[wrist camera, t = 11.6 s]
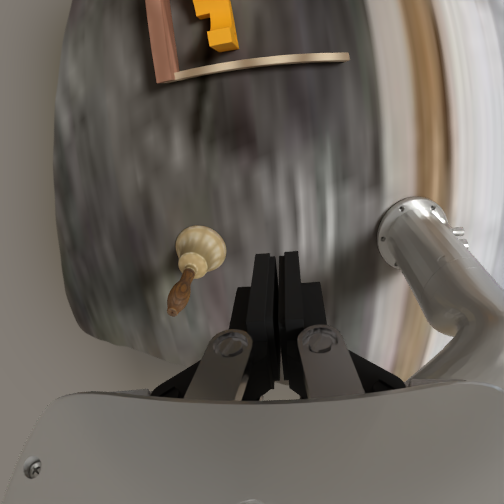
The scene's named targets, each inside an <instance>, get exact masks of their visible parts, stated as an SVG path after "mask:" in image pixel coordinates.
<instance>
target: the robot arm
mask: <svg viewBox="0 0 504 504" xmlns="http://www.w3.org/2000/svg"><path fill="white" fill-rule="evenodd" d="M400 207H401V208H400ZM463 235H464V229H463V227H456V228H452V227H451V226H450V225H449V224H448V222H447V218H446V215H445V213H444V212H443V210H442V208H441V207H440V206H439V205H438V204H436V203H435V202H434V201H432V200H430V199H428V198H424V197H410V198H406V199H404V200H402V201H400V202H398V203H397V204H395V205H394V206H393V207H391V208H390V209H389V210H388V211H387V213H386V214H385V216H384V217H383V219H382V221H381V223H380V225H379V228H378V233H377V245H378V248H379V252H380V253H381V255H382V257H383V259H384V260H385V261H386V262H387V263H388V264H389V265H390V266H392V267H394V268H396V269H399V270H401V271H402V273H403V275H404V277H405V279H406V280H407V282H408V284H409V286H410V288H411V290H412V292H413V294H414V295H415V297H416V299H417V301H418V303H419V305H420V307H421V309H422V311H423V313H424V315H425V317H426V319H427V321H428V322H429V324H430V325H431V326H432V327H433V328H434V329H436V330H437V331H438V332H440V333H443V334H445V335H448V336H452V337H454V338H453V339H452V340H451V341H450V342H449V343H448V344H447V345H446V346H445V347H444V349H443V350H442V351H440V352H439V353H438V354H437V355H436V356H435V357H434V358H433V359H431V360H430V361H429V362H428V363H427V364H426V365H424V366H423V367H422V368H421V369H420V370H418V371H417V372H416V373H415V374H414V375H413V376H411V377H410V378H409V379H408V380H407V381H406V382H403V381H402V380H401V379H400V378H398V377H397V376H395V375H393V374H392V373H390V372H388V371H386V370H384V369H382V368H380V367H379V366H377V365H375V364H373V363H371V362H369V361H368V360H366V359H364V358H362V357H360V356H359V355H357V354H355V353H353V352H351V351H350V350H348V349H347V346H346V344H345V341H344V339H343V336H342V335H341V333H340V332H339V331H338V330H337V329H336V328H334V327H332V326H329V325H327V323H326V316H325V310H324V303H323V297H322V291H321V285H320V282H312V283H301V279H300V267H299V256H298V251H293V252H284V256H279V287H278V277H277V268H276V259H275V256H274V257H270V253H266V254H256V255H255V262H254V269H253V276H252V283H251V287H238V288H237V292H236V297H235V302H234V306H233V311H232V316H231V321H230V326H229V330H225V331H222V332H220V333H218V334H216V335H215V336H214V337H213V338H212V339H211V341H210V342H209V344H208V346H207V348H206V351H205V353H204V355H203V357H202V359H201V360H200V361H198V362H197V363H195V364H194V365H192V366H190V367H189V368H187V369H186V370H184V371H182V372H181V373H179V374H177V375H176V376H174V377H172V378H171V379H169V380H167V381H166V382H164V383H162V384H161V385H159V386H158V387H156V388H155V389H154V390H153V391H151V392H150V391H149V390H148V389H141V390H129V391H117V392H96V391H91V392H78V393H73V394H69V395H65V396H62V397H59V398H57V399H55V400H54V401H52V402H51V403H50V404H49V405H48V406H47V407H46V408H45V410H44V411H43V412H42V414H41V415H40V417H39V419H38V420H37V422H36V424H35V425H34V427H33V429H32V431H31V433H30V435H29V436H28V438H27V441H26V443H25V445H24V447H23V449H22V451H21V453H20V456H19V458H18V461H17V463H16V465H15V468H14V470H13V473H12V475H11V478H10V481H9V483H8V486H7V489H6V491H5V494H4V497H3V501H2V504H504V289H503V288H502V287H501V286H500V285H499V284H498V283H497V282H496V281H495V280H494V278H493V277H492V276H491V275H490V274H489V273H488V272H487V271H486V269H485V268H484V267H483V266H482V265H481V264H480V262H479V261H478V260H477V259H476V258H475V257H474V256H473V255H472V253H471V252H470V251H469V250H468V242H467V240H466V239H458V238H457V237H456V236H463ZM381 237H382V238H381ZM281 353H282V363H283V373H284V380H289V387H290V389H292V390H293V391H295V392H296V393H297V394H299V395H300V399H298V400H274V401H263V395H264V394H265V393H266V392H268V391H269V390H270V389H274V381H280V354H281Z"/></svg>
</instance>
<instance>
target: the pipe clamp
mask: <svg viewBox="0 0 504 504" xmlns="http://www.w3.org/2000/svg"><path fill="white" fill-rule="evenodd" d="M193 3H194V7H195V11H196V16H197V17H198V18H199V19H200V20H201V19H206V18H210V19H211V29H210V31H208V32H207V34H208V40H209V46H210V47H212V48H213V49H215V50H216V51H218V52H225V51H230V50H236V49H239V46H238V41H237V35H236V30H235V24H234V19H233V13H232V8H231V2H230V0H193Z"/></svg>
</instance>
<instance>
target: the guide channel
mask: <svg viewBox="0 0 504 504" xmlns="http://www.w3.org/2000/svg"><path fill="white" fill-rule="evenodd" d="M145 2H146V11H147V19H148V27H149V34H150V42H151V49H152V56H153V62H154V69H155V75H156V81H157V83H171V82H175V81H180V80H184V79H189V78H193V77H198V76H203V75H209V74H214V73H220V72H226V71H232V70H239V69H246V68H254V67H263V66H272V65H283V64H296V63H314V62H346V61H349V53H312V54H294V55H281V56H271V57H261V58H253V59H245V60H238V61H232V62H225V63H219V64H214V65H208V66H203V67H198V68H193V69H189V70H184V71H179V64H178V58H177V51H176V44H175V37H174V30H173V23H172V16H171V8H170V1H169V0H145Z"/></svg>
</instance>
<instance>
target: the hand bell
mask: <svg viewBox="0 0 504 504" xmlns="http://www.w3.org/2000/svg"><path fill="white" fill-rule="evenodd" d="M176 252H177V255H178V257H179V262H178V265H179V269H180V271H181V272H182V273H183V274H182V277H181V279H180V281H179V282H177V283H176V284H175V285H174V286H173V288H172V289H171V291H170V293H169V295H168V300H167V305H168V309H167V313H168V314H169V315H170V316H173V317H174V316H176V315H177V314H178V313H179V312H180V311H181V310H183V309H184V307H185V306H186V305H187V303H188V300H189V297H190V284H191V282H192V280H193V279H197V278H201V277H202V276H204V275H205V274H206V272H209V271H212V270H215V269H216V268H218V267H219V266H220V265H221V264H222V263H223V262H224V260H225V257H226V246H225V243H224V241H223V239H222V238H221V236H220V235H219V234H218V233H217V232H215V231H214V230H212V229H211V228H208V227H205V226H197V225H196V226H191V227H188V228H186V229H184V230H183V231H182V232H181V233H180V234H179V236H178V237H177V240H176Z"/></svg>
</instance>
